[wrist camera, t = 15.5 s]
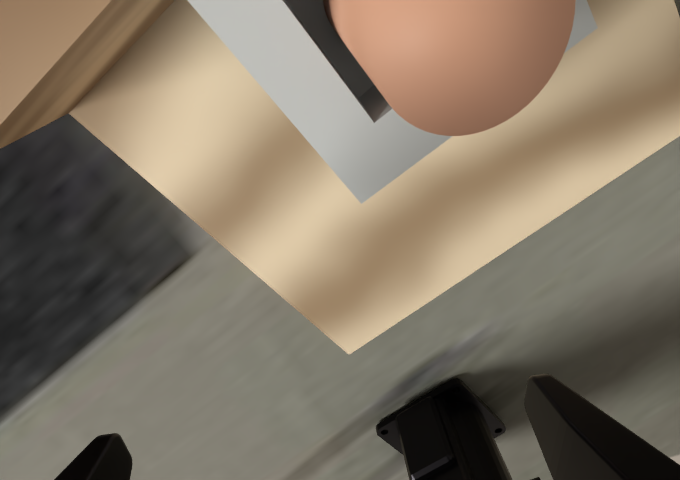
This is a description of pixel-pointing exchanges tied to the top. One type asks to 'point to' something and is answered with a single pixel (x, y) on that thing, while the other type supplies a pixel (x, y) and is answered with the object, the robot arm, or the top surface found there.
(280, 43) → the block
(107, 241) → the top surface
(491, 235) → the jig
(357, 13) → the dowel
